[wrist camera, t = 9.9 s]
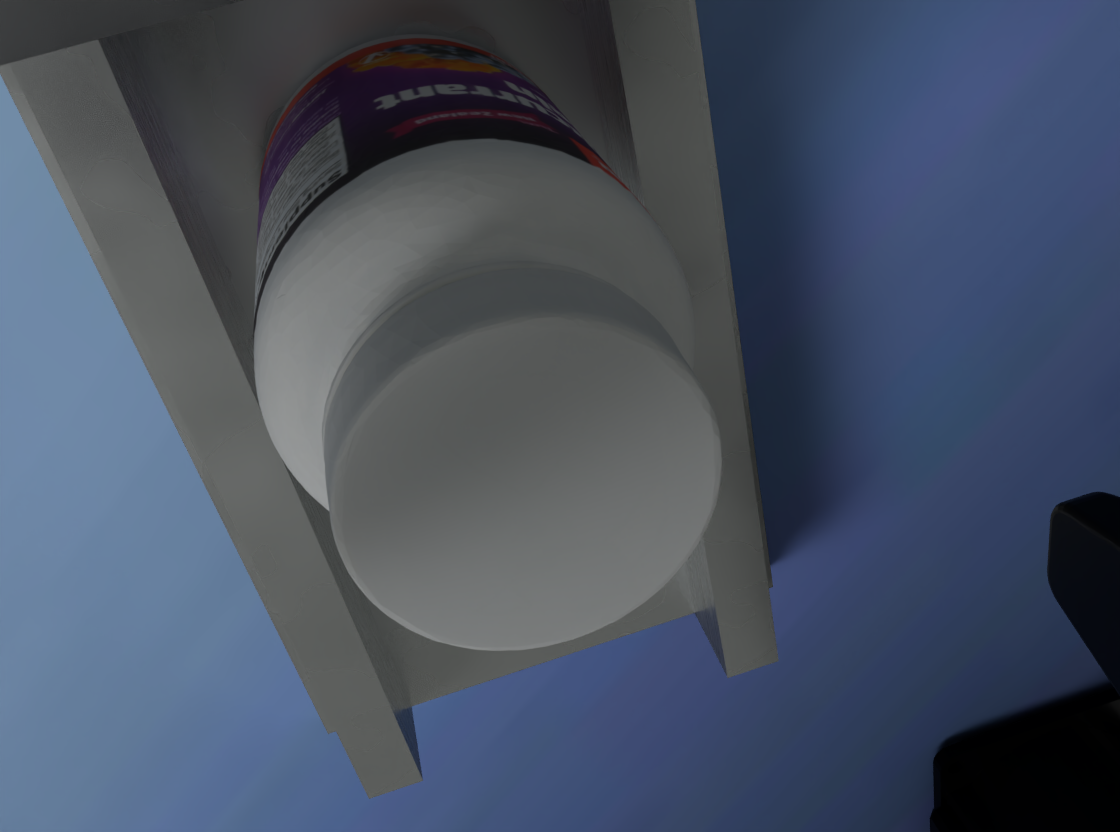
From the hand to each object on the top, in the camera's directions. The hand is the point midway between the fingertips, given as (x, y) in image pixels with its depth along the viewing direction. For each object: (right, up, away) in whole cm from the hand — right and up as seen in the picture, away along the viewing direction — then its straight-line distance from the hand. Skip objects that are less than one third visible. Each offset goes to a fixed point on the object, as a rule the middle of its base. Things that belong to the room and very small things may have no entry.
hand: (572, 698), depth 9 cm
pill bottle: (-3, +7, +10) cm, 12 cm away
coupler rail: (-2, +4, +12) cm, 13 cm away
